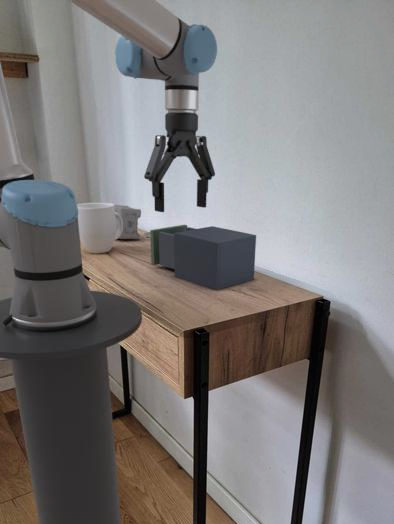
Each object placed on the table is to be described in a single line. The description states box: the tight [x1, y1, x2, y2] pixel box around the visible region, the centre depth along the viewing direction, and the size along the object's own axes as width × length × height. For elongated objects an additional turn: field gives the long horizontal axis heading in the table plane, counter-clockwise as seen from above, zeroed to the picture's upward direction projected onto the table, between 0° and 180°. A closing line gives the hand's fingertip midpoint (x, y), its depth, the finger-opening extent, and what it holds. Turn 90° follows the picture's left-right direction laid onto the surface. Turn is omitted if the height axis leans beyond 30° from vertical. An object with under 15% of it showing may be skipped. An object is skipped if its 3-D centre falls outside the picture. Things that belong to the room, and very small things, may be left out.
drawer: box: [143, 224, 196, 270], centre depth 124 cm, size 19×11×9 cm, turn 42°
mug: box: [77, 202, 123, 255], centre depth 140 cm, size 15×11×13 cm
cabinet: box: [174, 225, 257, 291], centre depth 115 cm, size 15×13×11 cm
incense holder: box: [114, 204, 142, 240], centre depth 156 cm, size 10×8×10 cm
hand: (181, 209), depth 118 cm, fingers open, 13 cm apart
